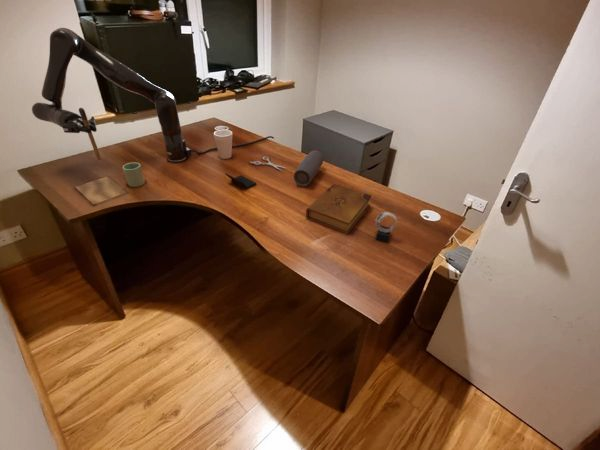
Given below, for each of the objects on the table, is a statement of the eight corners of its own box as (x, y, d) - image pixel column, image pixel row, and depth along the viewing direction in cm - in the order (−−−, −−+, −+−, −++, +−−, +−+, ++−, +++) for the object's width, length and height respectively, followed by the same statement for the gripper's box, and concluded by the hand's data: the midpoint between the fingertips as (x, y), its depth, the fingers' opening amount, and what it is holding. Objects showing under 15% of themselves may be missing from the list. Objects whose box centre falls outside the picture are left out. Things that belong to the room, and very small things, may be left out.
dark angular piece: (258, 179, 156) (247, 168, 147) (252, 192, 154) (241, 183, 146) (240, 175, 161) (228, 165, 153) (234, 188, 160) (221, 179, 151)
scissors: (263, 155, 179) (292, 165, 169) (263, 156, 179) (292, 167, 170) (249, 162, 172) (279, 173, 162) (249, 163, 172) (279, 174, 163)
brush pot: (140, 177, 157) (135, 160, 151) (148, 183, 153) (143, 166, 147) (125, 183, 152) (119, 165, 147) (132, 189, 148) (127, 171, 143)
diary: (331, 194, 151) (332, 183, 147) (369, 206, 143) (371, 195, 140) (305, 218, 135) (306, 207, 131) (347, 234, 127) (349, 222, 124)
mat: (107, 177, 156) (107, 176, 156) (126, 193, 146) (126, 192, 145) (75, 188, 148) (75, 186, 148) (93, 205, 137) (93, 204, 137)
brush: (101, 158, 141) (82, 106, 128) (102, 160, 140) (84, 107, 127) (96, 160, 140) (77, 107, 126) (98, 161, 139) (78, 108, 125)
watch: (373, 230, 130) (378, 207, 123) (394, 235, 128) (400, 212, 121) (370, 238, 126) (375, 215, 119) (391, 244, 124) (398, 220, 117)
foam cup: (238, 155, 179) (235, 132, 171) (226, 161, 173) (223, 138, 165) (225, 150, 183) (222, 128, 175) (213, 156, 177) (209, 133, 169)
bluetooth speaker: (311, 190, 153) (312, 170, 147) (292, 186, 155) (292, 167, 149) (324, 168, 170) (325, 150, 164) (307, 165, 172) (307, 147, 166)
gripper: (47, 115, 130) (71, 125, 123) (81, 107, 140) (105, 115, 133) (55, 134, 135) (78, 144, 128) (87, 124, 144) (111, 133, 137)
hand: (92, 130), depth 130 cm, fingers closed on brush, 1 cm apart
